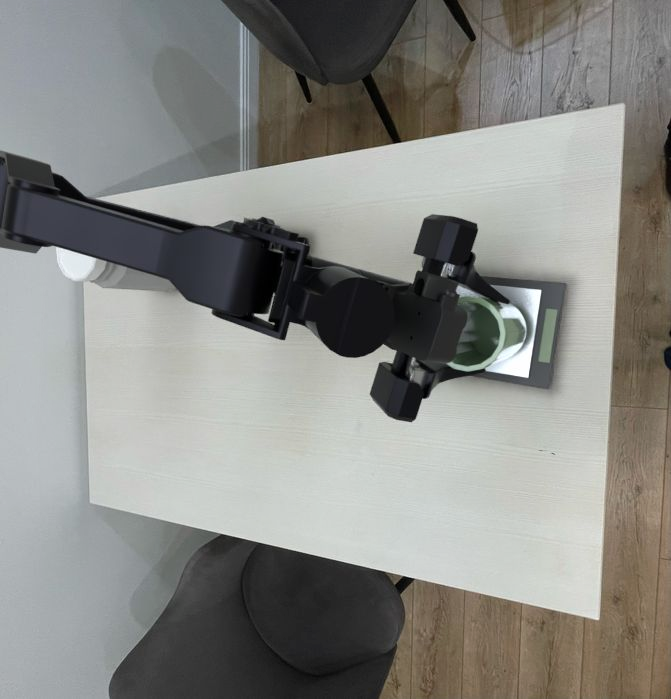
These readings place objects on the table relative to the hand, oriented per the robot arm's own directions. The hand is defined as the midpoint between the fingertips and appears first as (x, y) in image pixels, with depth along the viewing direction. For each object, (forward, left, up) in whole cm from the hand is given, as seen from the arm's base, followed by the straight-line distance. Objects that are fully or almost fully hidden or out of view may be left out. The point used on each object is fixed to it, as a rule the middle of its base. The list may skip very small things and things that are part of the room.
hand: (494, 336), depth 53 cm
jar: (-55, +4, -13) cm, 56 cm away
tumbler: (-1, 0, -7) cm, 7 cm away
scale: (-1, 0, -12) cm, 13 cm away
